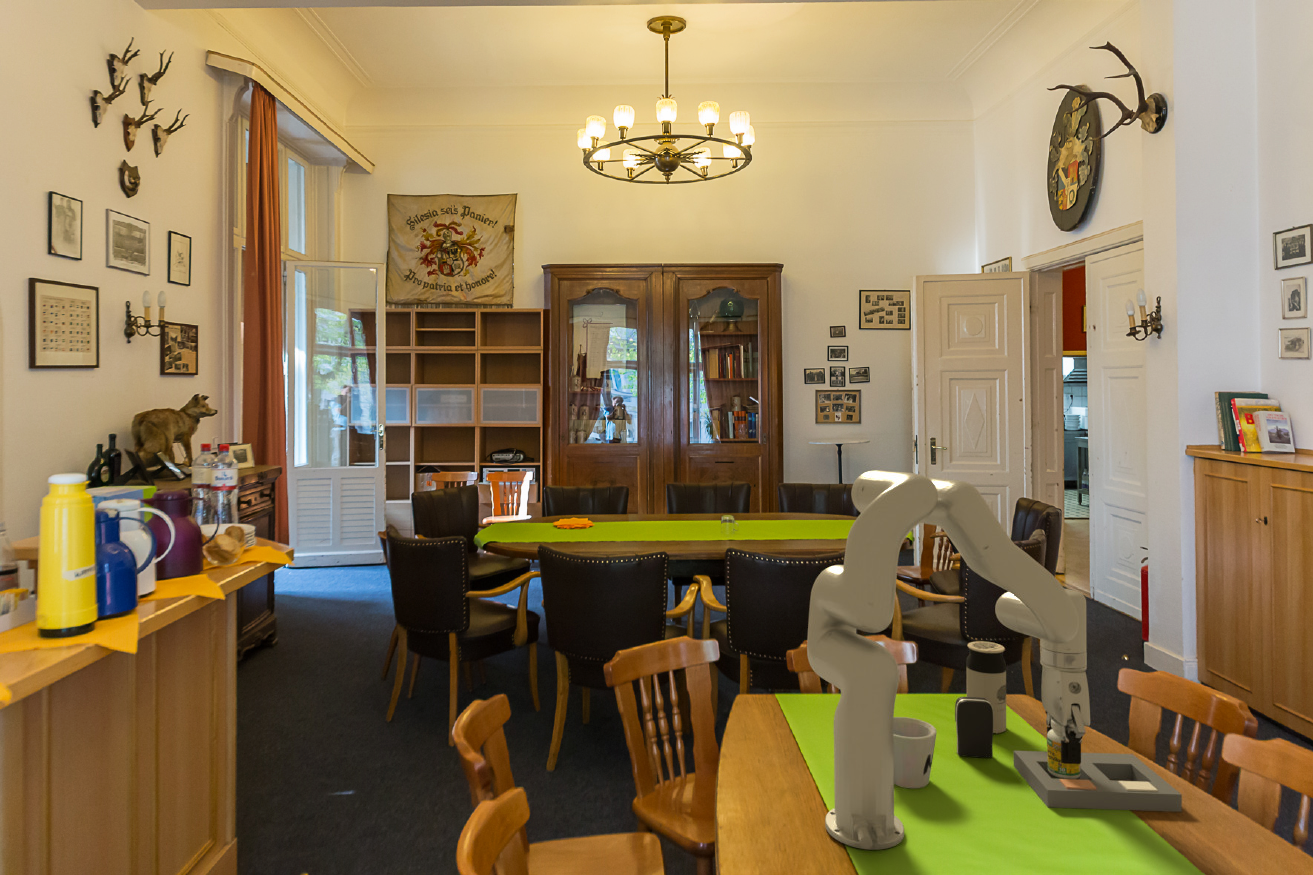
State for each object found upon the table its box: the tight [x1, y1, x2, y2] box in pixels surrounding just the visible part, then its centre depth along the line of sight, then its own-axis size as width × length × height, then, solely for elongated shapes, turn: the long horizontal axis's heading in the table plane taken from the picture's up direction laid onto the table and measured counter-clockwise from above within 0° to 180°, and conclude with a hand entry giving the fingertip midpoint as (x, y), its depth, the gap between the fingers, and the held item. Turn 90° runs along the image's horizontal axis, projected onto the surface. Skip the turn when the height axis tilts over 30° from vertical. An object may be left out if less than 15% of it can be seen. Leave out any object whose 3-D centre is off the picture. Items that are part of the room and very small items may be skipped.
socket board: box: [1013, 750, 1183, 813], centre depth 139 cm, size 16×22×3 cm
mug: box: [893, 716, 937, 789], centre depth 144 cm, size 10×15×10 cm
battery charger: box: [954, 696, 994, 759], centre depth 154 cm, size 7×4×11 cm, turn 79°
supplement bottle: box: [1046, 718, 1081, 779], centre depth 140 cm, size 5×5×10 cm
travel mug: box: [966, 641, 1007, 734], centre depth 167 cm, size 8×8×18 cm
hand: (1063, 754), depth 140 cm, fingers closed on supplement bottle, 5 cm apart
